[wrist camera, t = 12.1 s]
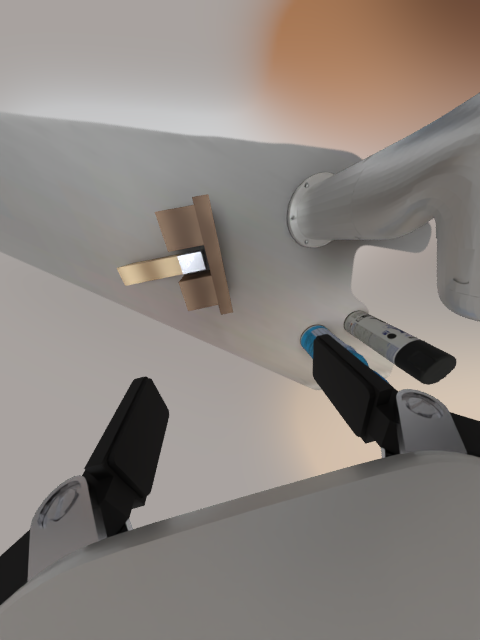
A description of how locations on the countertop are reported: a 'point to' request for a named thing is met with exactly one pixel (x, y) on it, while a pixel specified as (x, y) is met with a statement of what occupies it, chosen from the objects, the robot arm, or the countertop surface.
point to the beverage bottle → (318, 330)
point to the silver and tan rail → (162, 267)
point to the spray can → (401, 348)
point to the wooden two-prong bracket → (191, 231)
